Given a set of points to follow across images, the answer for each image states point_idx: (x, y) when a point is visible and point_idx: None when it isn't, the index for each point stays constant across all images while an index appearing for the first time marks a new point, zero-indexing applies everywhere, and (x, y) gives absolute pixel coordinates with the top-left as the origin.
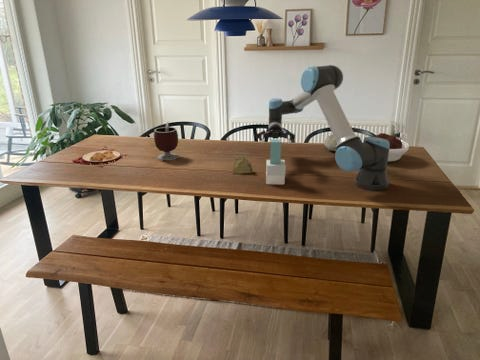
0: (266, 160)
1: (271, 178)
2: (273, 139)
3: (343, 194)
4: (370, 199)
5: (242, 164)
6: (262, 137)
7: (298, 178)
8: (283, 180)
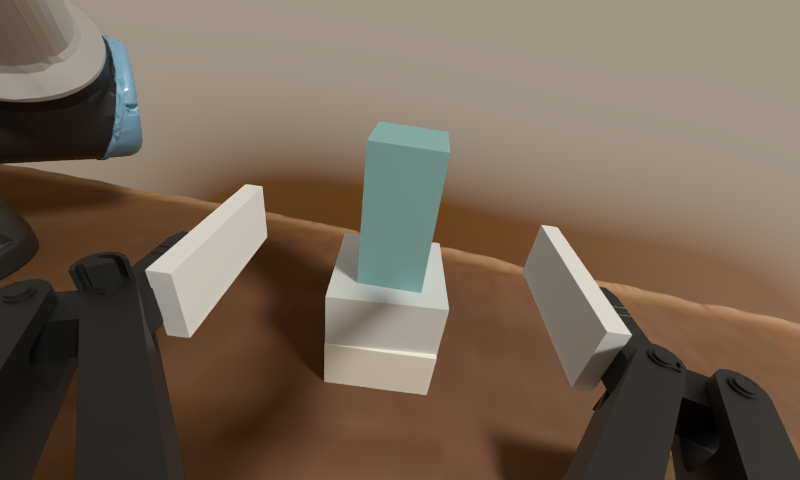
0: (447, 308)
1: None
2: (429, 149)
3: (167, 226)
4: (115, 199)
5: None
6: (554, 238)
7: (242, 364)
8: None
